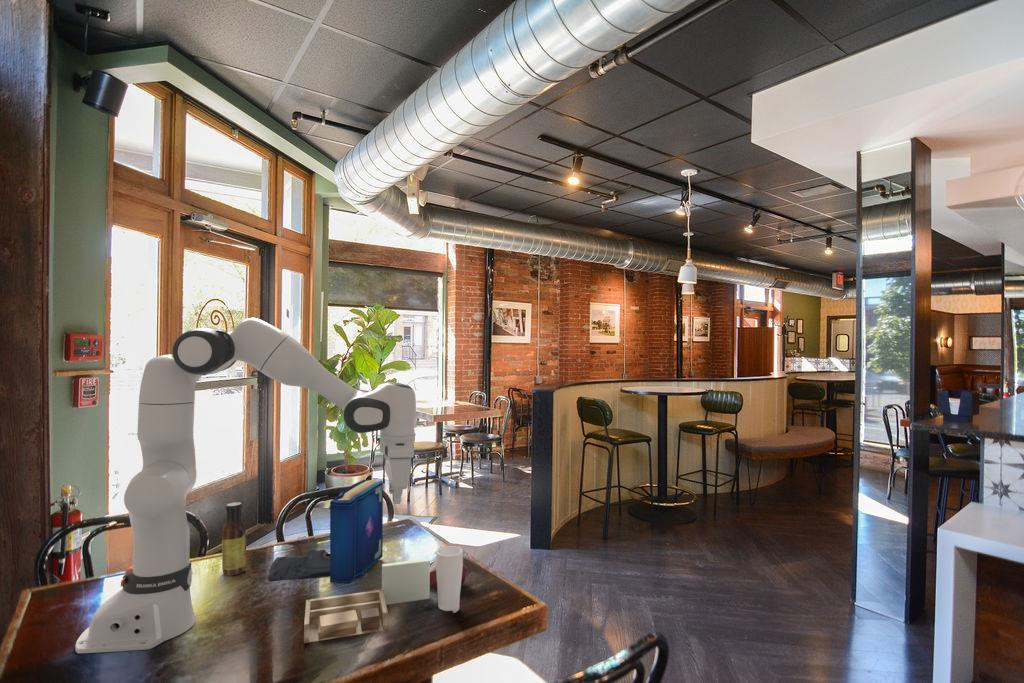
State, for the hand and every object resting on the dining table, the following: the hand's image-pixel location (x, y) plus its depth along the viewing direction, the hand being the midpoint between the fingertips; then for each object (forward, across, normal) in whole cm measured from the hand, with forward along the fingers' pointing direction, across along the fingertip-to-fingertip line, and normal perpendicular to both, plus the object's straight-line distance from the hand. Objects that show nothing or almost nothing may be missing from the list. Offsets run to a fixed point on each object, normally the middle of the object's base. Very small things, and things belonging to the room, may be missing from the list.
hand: (394, 498), depth 137 cm
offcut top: (+25, +12, -13) cm, 31 cm away
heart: (+27, -6, +16) cm, 32 cm away
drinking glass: (+27, +8, +14) cm, 31 cm away
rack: (+28, +9, -11) cm, 31 cm away
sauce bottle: (+29, -33, -41) cm, 60 cm away
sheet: (+27, +2, +4) cm, 28 cm away
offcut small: (+26, +12, -6) cm, 29 cm away
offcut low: (+26, +12, -13) cm, 32 cm away
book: (+28, -22, -7) cm, 36 cm away
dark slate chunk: (+29, -30, -20) cm, 46 cm away
